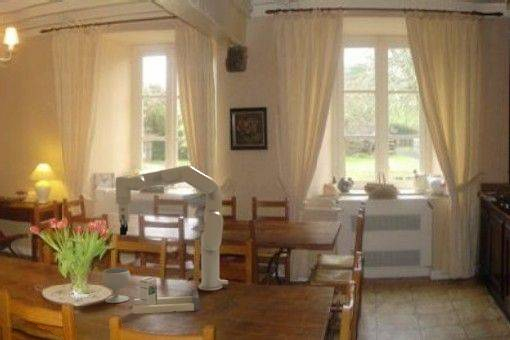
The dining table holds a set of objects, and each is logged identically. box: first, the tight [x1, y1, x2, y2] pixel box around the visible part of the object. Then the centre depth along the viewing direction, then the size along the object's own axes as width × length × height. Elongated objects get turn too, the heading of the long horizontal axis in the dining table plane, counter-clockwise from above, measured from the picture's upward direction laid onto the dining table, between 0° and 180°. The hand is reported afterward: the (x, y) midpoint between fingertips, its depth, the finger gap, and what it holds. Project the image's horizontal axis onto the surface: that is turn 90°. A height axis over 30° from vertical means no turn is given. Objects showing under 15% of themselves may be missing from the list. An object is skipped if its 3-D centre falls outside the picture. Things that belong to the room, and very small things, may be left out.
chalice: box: [101, 267, 132, 304], centre depth 277 cm, size 14×14×15 cm
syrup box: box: [139, 276, 158, 306], centre depth 264 cm, size 6×6×14 cm
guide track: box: [132, 289, 200, 315], centre depth 266 cm, size 30×13×6 cm, turn 100°
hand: (124, 233), depth 289 cm, fingers open, 9 cm apart
